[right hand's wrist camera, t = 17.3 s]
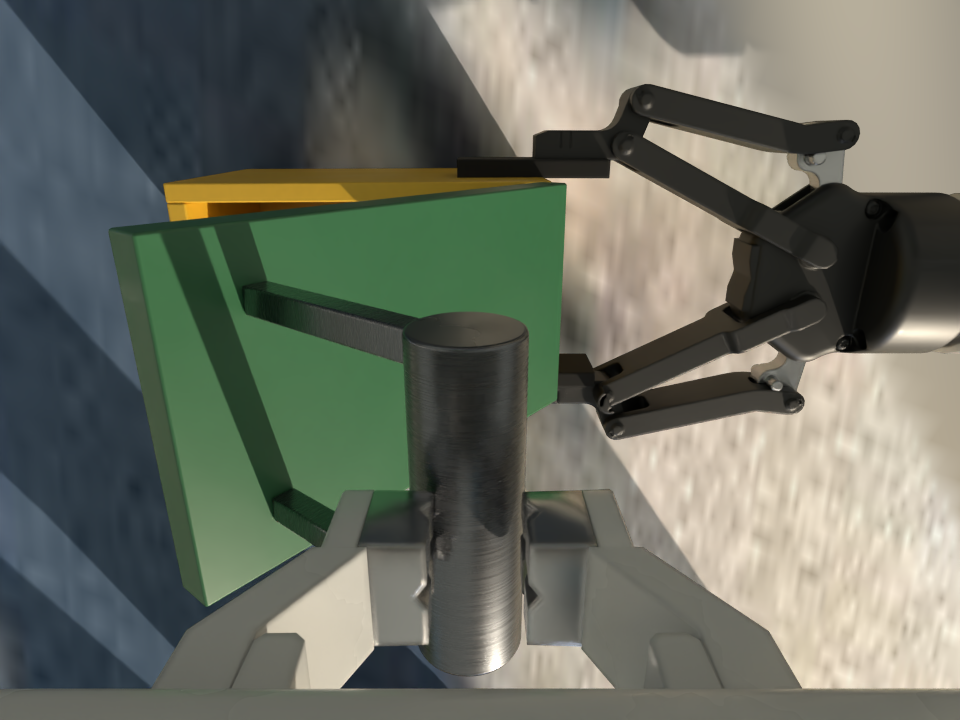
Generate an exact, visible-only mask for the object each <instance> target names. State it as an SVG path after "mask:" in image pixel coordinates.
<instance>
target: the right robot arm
mask: <svg viewBox="0 0 960 720" xmlns="http://www.w3.org/2000/svg"><path fill="white" fill-rule="evenodd" d="M434 519H435V507H434V491H406V490H376V491H374V490H346V491H344V492H343V493H342V495H341V497H340V500H339V503H338V505H337V508H336V510H335V513H334V515H333V518H332V520H331V523H330V526H329V528H328V531H327V533H326V536H325V538H324V541H323V543H322V546H321V547H312V548H310V549H309V550H307V551H306V552H304V553H303V554H301V555H300V556H298V557H297V558H295V559H294V560H292V561H291V562H289V563H288V564H286V565H285V566H283V567H282V568H280V569H279V570H277V571H276V572H274V573H273V574H271V575H269V576H268V577H266V578H265V579H263V580H262V581H260V582H259V583H257V584H256V585H254V586H253V587H251V588H250V589H248V590H247V591H245V592H244V593H242V594H241V595H239V596H238V597H236V598H235V599H233V600H231V601H230V602H228V603H227V604H225V605H224V606H222V607H221V608H219V609H218V610H216V611H215V612H213V613H212V614H210V615H209V616H207V617H206V618H204V619H203V620H201V621H200V622H198V623H197V624H195V625H194V626H192V627H190V628H189V629H187V630H186V632H185V633H184V635H183V637H182V638H181V640H180V642H179V643H178V645H177V646H176V648H175V650H174V651H173V653H172V655H171V656H170V658H169V660H168V661H167V663H166V665H165V666H164V668H163V670H162V671H161V673H160V675H159V676H158V678H157V680H156V681H155V683H154V685H153V686H152V688H151V689H0V720H960V689H802V687H801V686H800V684H799V682H798V681H797V679H796V677H795V675H794V674H793V672H792V670H791V669H790V667H789V665H788V663H787V662H786V660H785V658H784V657H783V655H782V653H781V651H780V650H779V648H778V646H777V645H776V643H775V641H774V639H773V638H772V636H771V634H770V633H769V631H768V630H766V629H765V628H763V627H762V626H760V625H759V624H757V623H756V622H754V621H753V620H751V619H750V618H748V617H747V616H745V615H744V614H742V613H741V612H739V611H738V610H736V609H735V608H733V607H732V606H730V605H729V604H727V603H726V602H724V601H723V600H721V599H720V598H718V597H717V596H715V595H714V594H712V593H711V592H709V591H708V590H706V589H705V588H703V587H702V586H700V585H699V584H697V583H696V582H694V581H693V580H691V579H690V578H688V577H687V576H685V575H684V574H682V573H681V572H679V571H678V570H676V569H675V568H673V567H672V566H670V565H669V564H667V563H666V562H664V561H663V560H661V559H660V558H658V557H657V556H655V555H654V554H652V553H651V552H649V551H648V550H646V549H645V548H643V547H634V545H633V543H632V540H631V538H630V535H629V532H628V530H627V527H626V525H625V522H624V519H623V517H622V514H621V512H620V509H619V506H618V504H617V501H616V499H615V496H614V493H613V492H612V491H611V490H610V489H603V490H577V491H537V492H522V500H521V519H522V529H523V534H522V535H521V536H520V572H521V587H522V593H523V594H524V620H525V629H526V639H527V645H552V646H582V648H581V649H582V650H583V651H584V652H585V654H586V655H587V656H588V657H589V658H590V659H591V661H592V662H593V663H594V664H595V665H596V666H597V668H598V669H599V670H600V671H601V672H602V673H603V675H604V676H605V677H606V678H607V679H608V681H609V682H610V683H611V684H612V685H613V686H614V688H615V689H340V688H341V687H342V686H343V685H344V684H345V682H346V681H347V680H348V679H349V678H350V677H351V675H352V674H353V673H354V672H355V671H356V670H357V669H358V667H359V666H360V665H361V664H362V663H363V662H364V660H365V659H366V658H367V657H368V656H369V655H370V654H371V652H372V651H373V650H374V646H402V645H429V636H430V627H431V618H432V594H433V593H434V587H435V572H436V538H435V536H434V535H433V528H434Z"/></svg>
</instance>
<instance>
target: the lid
mask: <svg viewBox="0 0 960 720" xmlns="http://www.w3.org/2000/svg"><path fill="white" fill-rule="evenodd" d="M566 188H567V185H566V184H565V183H553V182H536V183H527V184H518V185H508V186H499V187H489V188H480V189H471V190H461V191H452V192H443V193H433V194H424V195H414V196H405V197H396V198H386V199H377V200H368V201H358V202H349V203H340V204H330V205H321V206H311V207H302V208H293V209H283V210H274V211H265V212H255V213H246V214H236V215H227V216H218V217H208V218H199V219H190V220H180V221H171V222H162V223H152V224H143V225H133V226H124V227H115V228H111V229H109V237H110V242H111V246H112V251H113V256H114V261H115V265H116V270H117V275H118V280H119V284H120V289H121V294H122V299H123V303H124V308H125V313H126V318H127V322H128V327H129V332H130V336H131V341H132V346H133V351H134V355H135V360H136V365H137V370H138V374H139V379H140V384H141V389H142V393H143V398H144V403H145V408H146V412H147V417H148V422H149V427H150V431H151V436H152V441H153V446H154V450H155V455H156V460H157V465H158V469H159V474H160V479H161V484H162V488H163V493H164V498H165V503H166V507H167V512H168V517H169V521H170V526H171V531H172V536H173V540H174V545H175V550H176V555H177V559H178V564H179V569H180V574H181V578H182V583H183V587H184V588H185V589H186V590H188V591H189V592H190V593H191V594H192V595H193V596H194V597H195V598H197V599H198V600H199V601H200V602H201V603H202V604H203V605H204V606H206V607H207V606H210V605H212V604H213V603H215V602H217V601H218V600H220V599H222V598H223V597H225V596H227V595H228V594H230V593H232V592H234V591H235V590H237V589H239V588H240V587H242V586H244V585H245V584H247V583H249V582H250V581H252V580H254V579H255V578H257V577H259V576H261V575H262V574H264V573H266V572H267V571H269V570H271V569H272V568H274V567H276V566H277V565H279V564H281V563H282V562H284V561H286V560H288V559H289V558H291V557H293V556H294V555H296V554H298V553H299V552H301V551H303V550H304V549H306V548H308V547H309V546H311V545H314V546H315V547H321V546H322V543H323V541H324V538H325V536H326V533H327V531H328V528H329V526H330V523H331V520H332V518H333V515H334V513H335V510H336V508H337V505H338V503H339V500H340V497H341V495H342V493H343V492H344V491H346V490H374V491H376V490H406V489H407V488H409V489H410V491H434V507H435V519H434V528H433V535H434V536H435V538H436V572H435V587H434V593H433V594H432V618H431V627H430V636H429V645H418V646H419V648H420V651H421V652H422V654H423V655H424V657H425V658H426V659H427V660H428V661H429V663H431V664H432V665H433V666H434V667H436V668H438V669H439V670H441V671H444V672H446V673H449V674H452V675H458V676H478V675H483V674H487V673H490V672H493V671H495V670H497V669H499V668H501V667H502V666H503V665H505V664H506V663H507V662H508V661H509V660H510V659H511V658H512V657H513V656H514V654H515V652H516V651H517V649H518V647H519V644H520V640H521V620H522V587H521V572H520V536H521V535H522V534H523V529H522V519H521V500H522V492H525V470H526V432H527V417H529V416H531V415H532V414H534V413H536V412H537V411H539V410H541V409H542V408H544V407H546V406H547V405H549V404H551V403H552V402H554V401H556V400H557V389H558V366H559V344H560V322H561V300H562V277H563V255H564V233H565V210H566Z"/></svg>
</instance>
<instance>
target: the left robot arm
mask: <svg viewBox="0 0 960 720" xmlns="http://www.w3.org/2000/svg"><path fill="white" fill-rule="evenodd" d="M649 122H651V123H655V124H659V125H663V126H667V127H671V128H675V129H679V130H683V131H686V132H690V133H694V134H698V135H702V136H706V137H710V138H714V139H718V140H721V141H725V142H729V143H733V144H737V145H741V146H745V147H749V148H753V149H756V150H761V151H766V152H775V153H788V154H787V160H788V164H789V166H790V167H791V168H792V169H794V170H798V171H803V172H805V173H806V174H807V175H808V177H809V182H810V184H808V185H807V186H805V187H803V188H802V189H800V190H799V191H797V192H796V193H794V194H793V195H791V196H790V197H788V198H787V199H785V200H784V201H782V202H781V203H779V204H778V205H776V206H775V207H773V208H772V209H771V208H770V207H768V206H766V205H764V204H762V203H759V202H757V201H755V200H753V199H751V198H749V197H747V196H746V195H744V194H742V193H740V192H739V191H737V190H735V189H733V188H731V187H730V186H728V185H726V184H724V183H723V182H721V181H719V180H717V179H716V178H714V177H712V176H710V175H709V174H707V173H705V172H703V171H701V170H700V169H698V168H696V167H694V166H693V165H691V164H689V163H687V162H686V161H684V160H682V159H680V158H678V157H677V156H675V155H673V154H671V153H670V152H668V151H666V150H664V149H663V148H661V147H659V146H657V145H656V144H654V143H652V142H650V141H648V140H647V139H645V138H643V135H644V133H645V130H646V128H647V126H648V123H649ZM859 135H860V129H859V126H858V125H857V123H856V122H854V121H852V120H833V121H813V122H805V123H796V122H793V121H789V120H785V119H781V118H777V117H774V116H770V115H766V114H762V113H758V112H755V111H751V110H747V109H743V108H739V107H736V106H732V105H728V104H724V103H720V102H717V101H713V100H709V99H705V98H701V97H697V96H694V95H690V94H686V93H682V92H678V91H675V90H671V89H667V88H663V87H659V86H656V85H652V84H644V85H640V86H637V87H633V88H630V89H628V90H626V91H625V92H624V93H623V94H622V95H621V97H620V99H619V107H618V109H617V112H616V114H615V117H614V119H613V121H612V122H611V124H610V125H609V126H608V127H606V128H605V129H602V130H598V131H575V130H546V131H542V132H540V133H537V134H535V135H533V157H458V159H457V178H533V177H543V178H609V174H610V160H614V161H616V162H617V163H619V164H621V165H623V166H625V167H626V168H628V169H630V170H632V171H634V172H635V173H637V174H639V175H641V176H643V177H644V178H646V179H648V180H650V181H652V182H654V183H655V184H657V185H659V186H661V187H663V188H664V189H666V190H668V191H670V192H672V193H673V194H675V195H677V196H679V197H681V198H682V199H684V200H686V201H688V202H690V203H691V204H693V205H695V206H697V207H699V208H700V209H702V210H704V211H706V212H708V213H709V214H711V215H713V216H715V217H717V218H718V219H719V220H721V221H723V222H724V223H726V224H728V225H730V226H732V227H733V228H735V229H737V230H739V231H741V232H742V233H741V235H740V237H739V238H734V245H733V252H732V257H733V265H734V272H733V274H732V276H731V279H730V281H729V284H728V286H727V293H726V300H725V301H727V303H725V304H723V305H721V306H719V307H717V308H714V309H712V310H710V311H709V312H707V313H706V315H705V317H704V318H702V319H700V320H698V321H695V322H693V323H691V324H689V325H687V326H685V327H682V328H680V329H678V330H676V331H674V332H671V333H669V334H667V335H665V336H663V337H661V338H658V339H656V340H654V341H652V342H650V343H647V344H645V345H643V346H641V347H639V348H637V349H634V350H632V351H630V352H628V353H626V354H623V355H621V356H619V357H617V358H615V359H613V360H610V361H608V362H606V363H604V364H602V365H599V366H597V367H595V368H593V367H592V365H591V363H590V361H589V359H588V357H587V355H586V354H559V366H558V389H557V400H556V401H554V402H552V403H585V404H590V405H592V406H594V407H595V408H596V412H597V414H598V417H599V419H600V422H601V424H602V426H603V428H604V430H605V433H606V435H607V436H608V437H609V438H610V439H613V440H619V439H624V438H629V437H634V436H639V435H644V434H649V433H653V432H658V431H663V430H668V429H673V428H678V427H683V426H687V425H692V424H697V423H702V422H707V421H712V420H717V419H721V418H726V417H731V416H736V415H741V414H746V413H751V412H755V411H758V412H767V413H776V414H785V415H794V414H796V413H798V412H799V411H801V410H802V408H803V406H804V402H805V401H804V398H803V396H802V395H801V394H799V393H798V392H797V387H798V384H799V381H800V378H801V375H802V372H803V369H804V366H805V363H806V362H809V361H812V360H815V359H817V358H819V357H821V356H823V355H826V354H829V353H834V352H842V353H926V352H931V351H932V352H938V353H944V354H948V353H960V193H954V194H951V195H948V194H943V193H860V192H857V191H854V190H853V189H851V188H850V187H849V186H847V185H845V184H842V179H843V166H844V154H845V150H846V149H849V148H851V147H852V146H854V145H855V143H856V142H857V141H858V139H859ZM765 343H768V344H769V345H771V346H772V347H773V348H775V349H776V350H777V351H778V352H779V353H778V355H777V357H776V358H775V359H774V360H773V361H771V362H769V363H764V364H756V365H754V366H752V368H751V372H732V373H726V374H721V375H716V376H712V377H707V378H702V379H697V380H693V381H688V382H683V383H678V384H674V385H669V386H664V387H659V388H655V389H652V388H654V387H656V386H658V385H660V384H663V383H665V382H667V381H669V380H672V379H674V378H676V377H678V376H681V375H683V374H685V373H687V372H690V371H692V370H694V369H696V368H699V367H701V366H703V365H705V364H708V363H710V362H712V361H714V360H717V359H719V358H721V357H723V356H725V355H728V354H731V353H737V354H739V353H744V352H747V351H749V350H751V349H753V348H756V347H758V346H760V345H762V344H765ZM649 389H650V390H649Z"/></svg>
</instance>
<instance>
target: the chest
mask: <svg viewBox="0 0 960 720" xmlns="http://www.w3.org/2000/svg"><path fill="white" fill-rule="evenodd" d="M536 182H551V181H549V180H547V179H545V178H543V177H533V178H457V168H368V169H244V170H239V171H233V172H227V173H221V174H215V175H209V176H204V177H198V178H192V179H186V180H180V181H174V182H169V183H164V184H163V186H164V192H165V198H166V202H167V203H168V204H167V207H168V213H169V219H170V222H171V221H180V220H190V219H199V218H208V217H218V216H227V215H236V214H246V213H255V212H265V211H274V210H283V209H293V208H302V207H311V206H321V205H330V204H340V203H349V202H358V201H368V200H377V199H386V198H396V197H405V196H414V195H424V194H433V193H443V192H452V191H461V190H471V189H480V188H489V187H499V186H508V185H518V184H527V183H536Z"/></svg>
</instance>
